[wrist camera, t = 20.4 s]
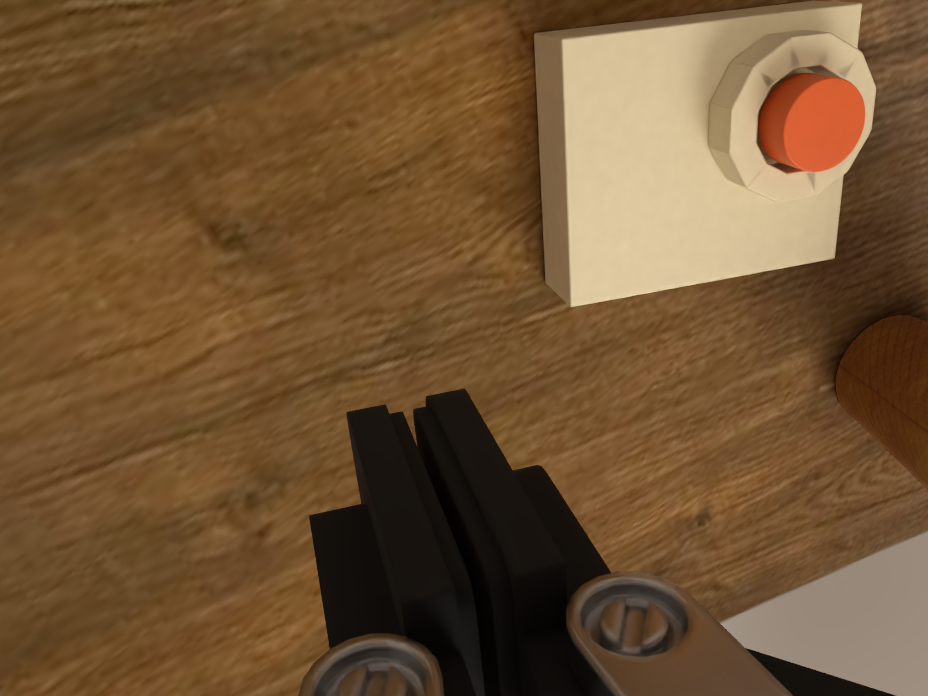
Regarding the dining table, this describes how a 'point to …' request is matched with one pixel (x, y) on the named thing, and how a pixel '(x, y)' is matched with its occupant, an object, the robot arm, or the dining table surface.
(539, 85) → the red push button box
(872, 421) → the disposable coffee cup
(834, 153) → the button
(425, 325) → the dining table surface
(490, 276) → the dining table surface
